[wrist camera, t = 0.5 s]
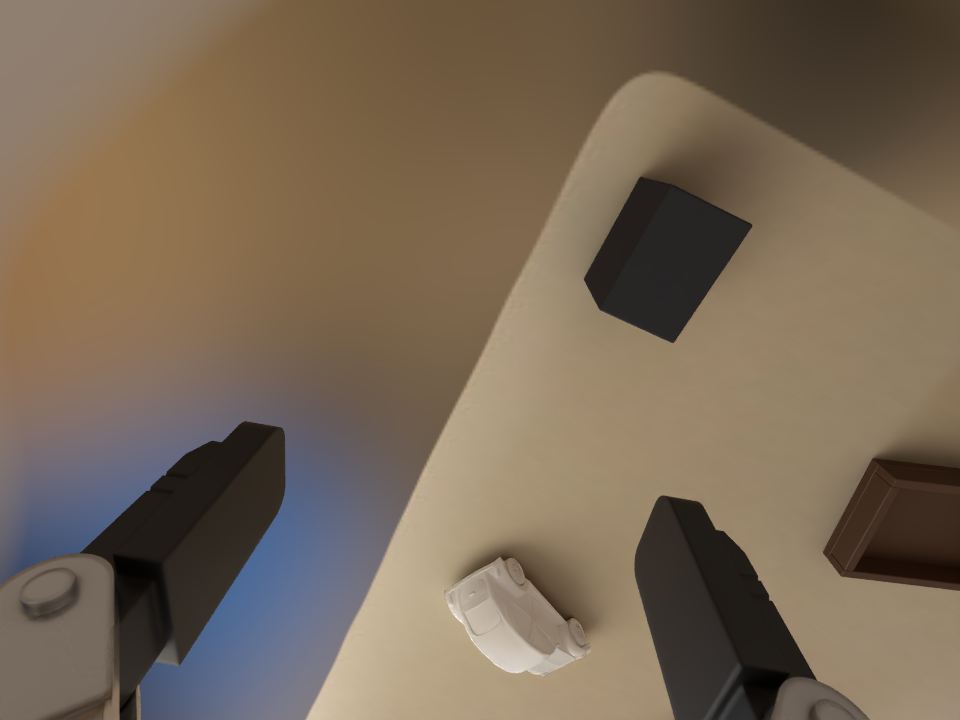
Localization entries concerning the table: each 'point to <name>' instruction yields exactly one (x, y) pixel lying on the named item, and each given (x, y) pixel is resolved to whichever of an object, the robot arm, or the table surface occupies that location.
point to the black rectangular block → (662, 257)
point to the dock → (901, 527)
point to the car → (514, 620)
